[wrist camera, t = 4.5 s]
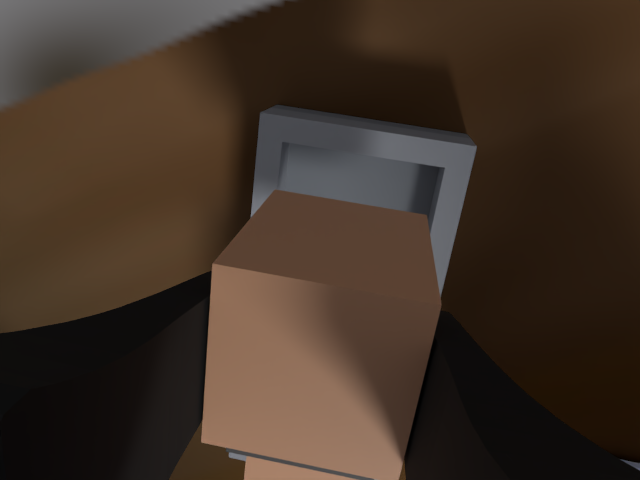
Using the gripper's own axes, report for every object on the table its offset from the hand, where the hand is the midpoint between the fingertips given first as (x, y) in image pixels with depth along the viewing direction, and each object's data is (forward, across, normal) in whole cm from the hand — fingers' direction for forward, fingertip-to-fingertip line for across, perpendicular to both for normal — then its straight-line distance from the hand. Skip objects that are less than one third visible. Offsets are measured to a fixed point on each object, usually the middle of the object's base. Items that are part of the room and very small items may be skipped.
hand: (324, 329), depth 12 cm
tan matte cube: (+3, 0, 0) cm, 3 cm away
